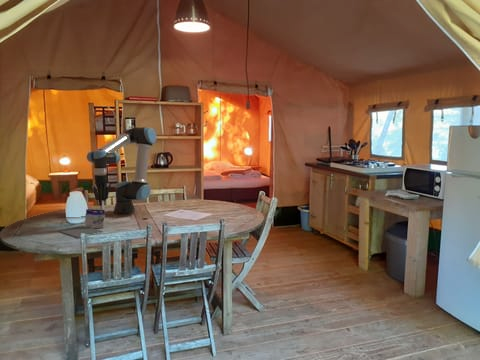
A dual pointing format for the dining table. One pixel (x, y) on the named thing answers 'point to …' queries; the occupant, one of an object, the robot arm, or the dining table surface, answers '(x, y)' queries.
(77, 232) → the rubber mat
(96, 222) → the ink box
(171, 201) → the dining table surface
